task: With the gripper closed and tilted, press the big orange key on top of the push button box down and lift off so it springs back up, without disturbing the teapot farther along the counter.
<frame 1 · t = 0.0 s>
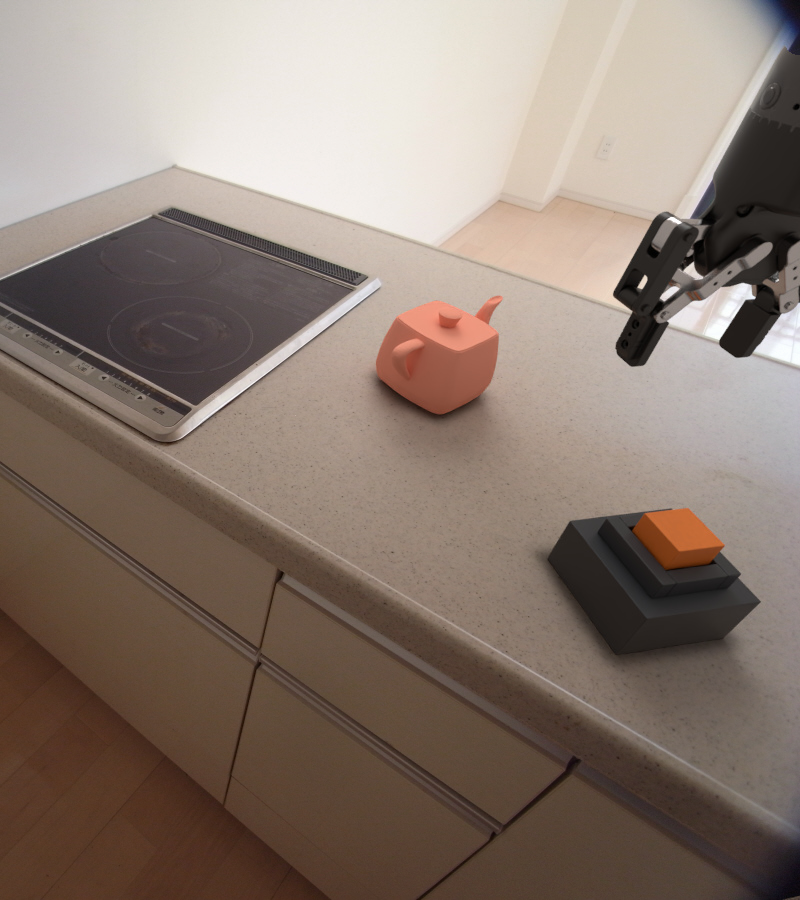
hand: (680, 356, 47), 21 cm above the countertop, tool pointing down, fingers open, 8 cm apart
teapot: (431, 386, 79), on the countertop
push button box: (630, 596, 56), on the countertop
key: (676, 538, 51), point 8 cm above the countertop, slide at 0.1 cm
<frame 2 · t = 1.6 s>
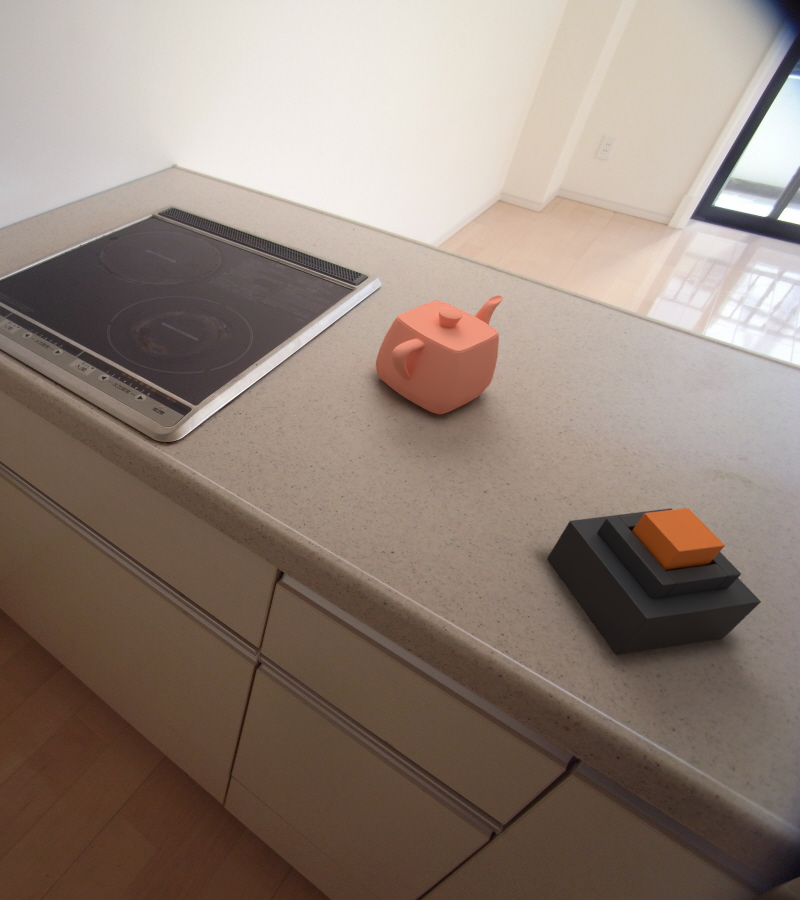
nothing on the countertop moved.
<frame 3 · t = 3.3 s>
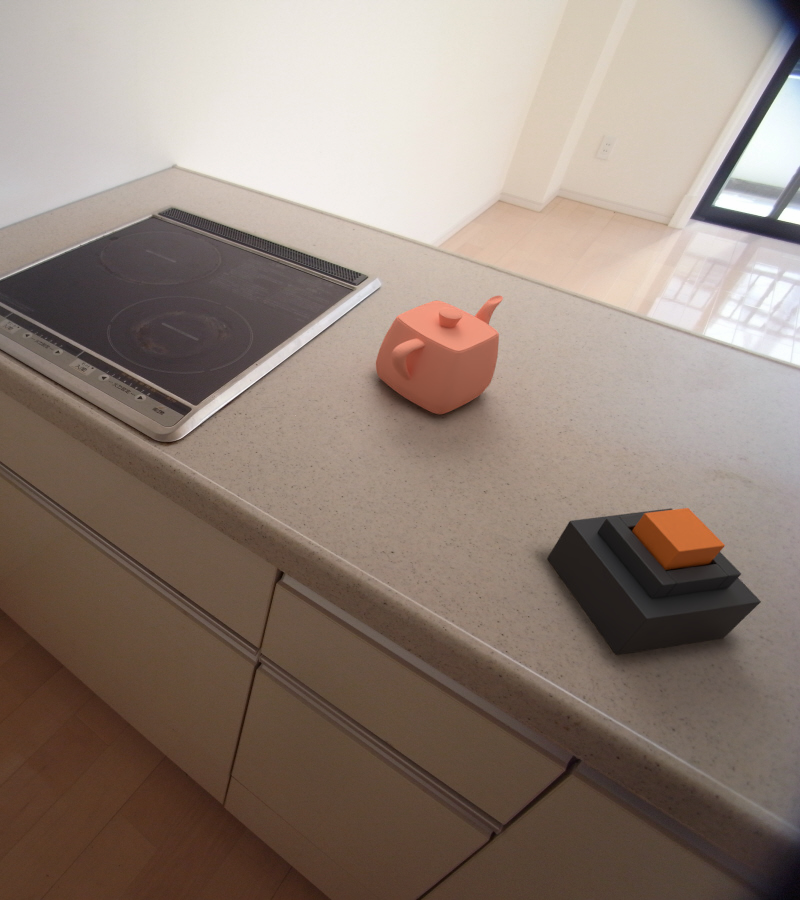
nothing on the countertop moved.
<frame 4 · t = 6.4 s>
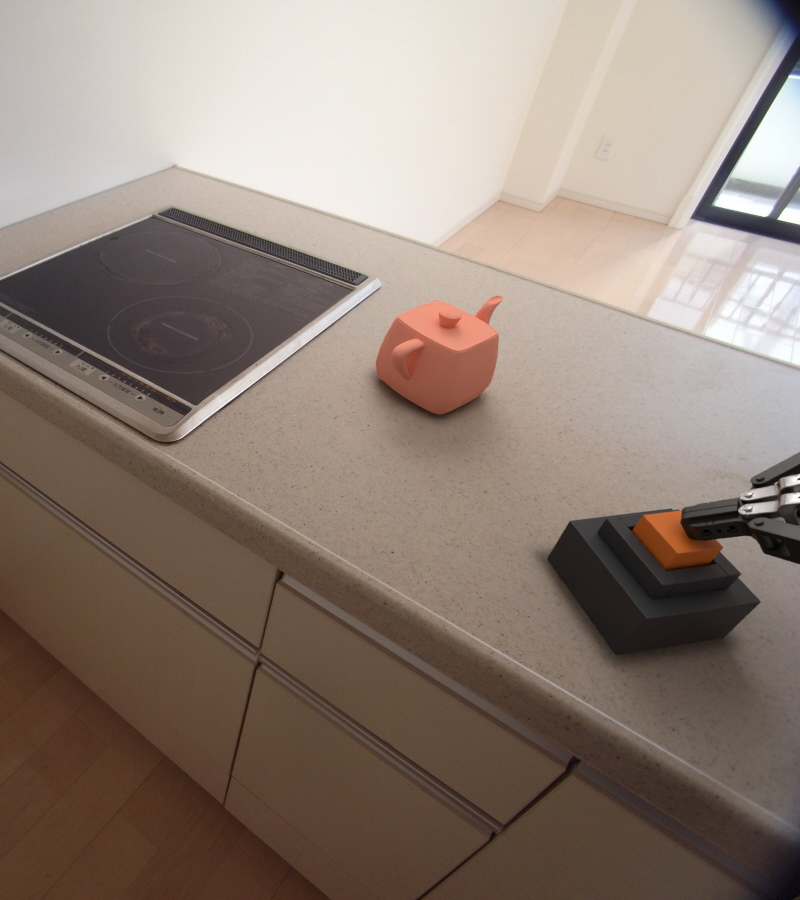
hand: (685, 524, 50), 9 cm above the countertop, tool tilted 45°, fingers closed
key: (675, 540, 51), point 8 cm above the countertop, slide at -0.1 cm, touching gripper
everything else where it was.
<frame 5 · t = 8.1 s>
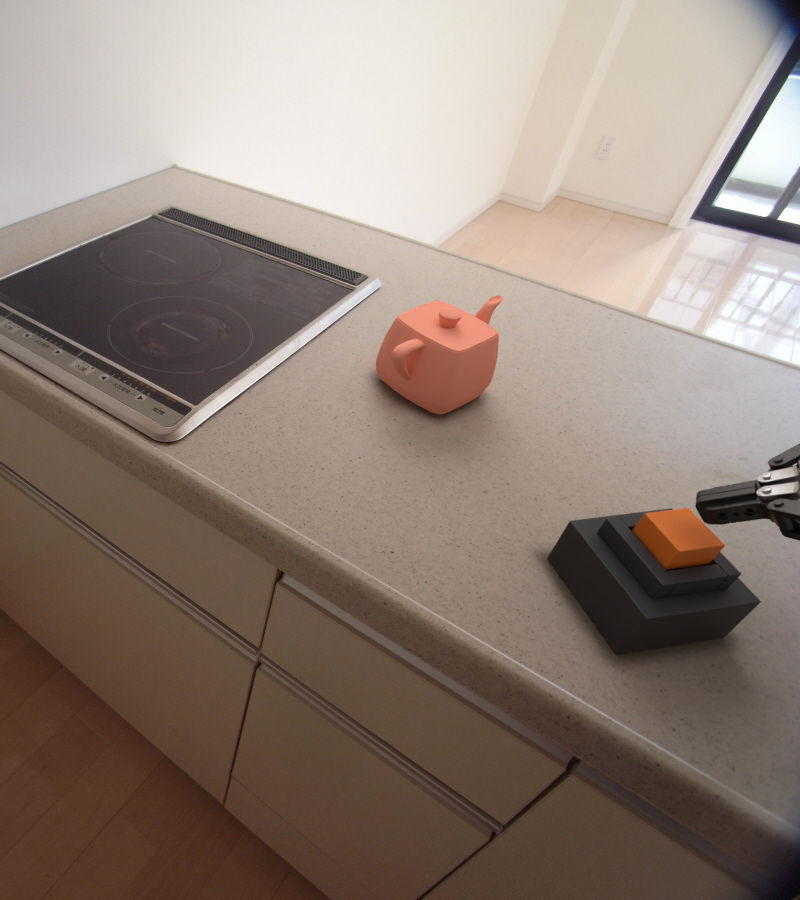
hand: (700, 508, 49), 11 cm above the countertop, tool tilted 45°, fingers closed
key: (676, 538, 51), point 8 cm above the countertop, slide at 0.1 cm
everything else where it was.
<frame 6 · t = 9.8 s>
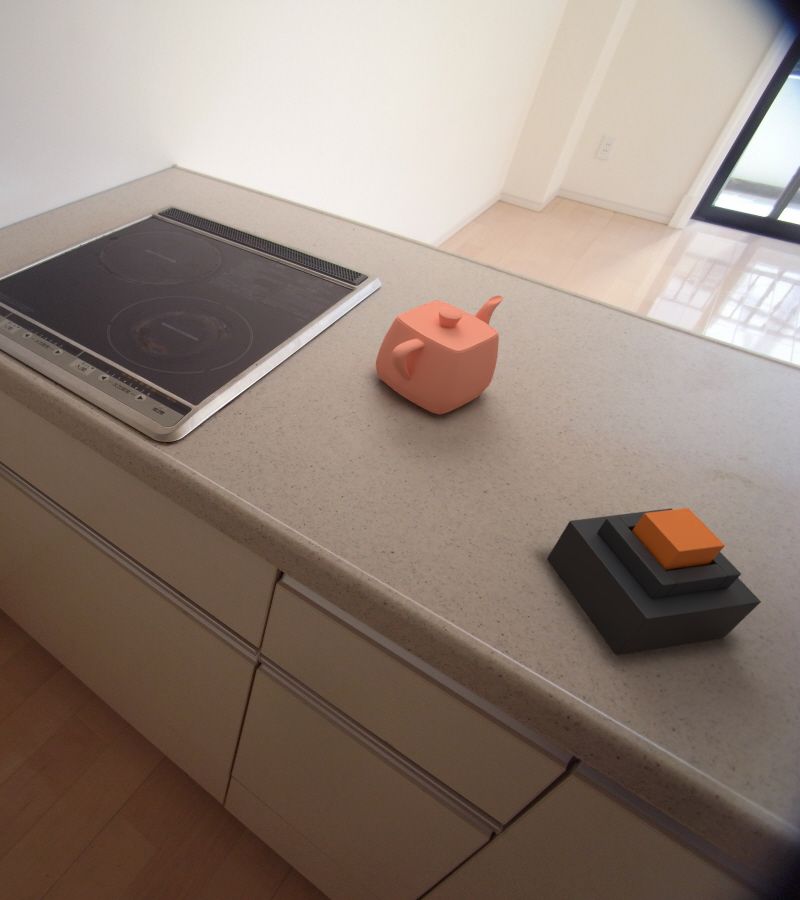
nothing on the countertop moved.
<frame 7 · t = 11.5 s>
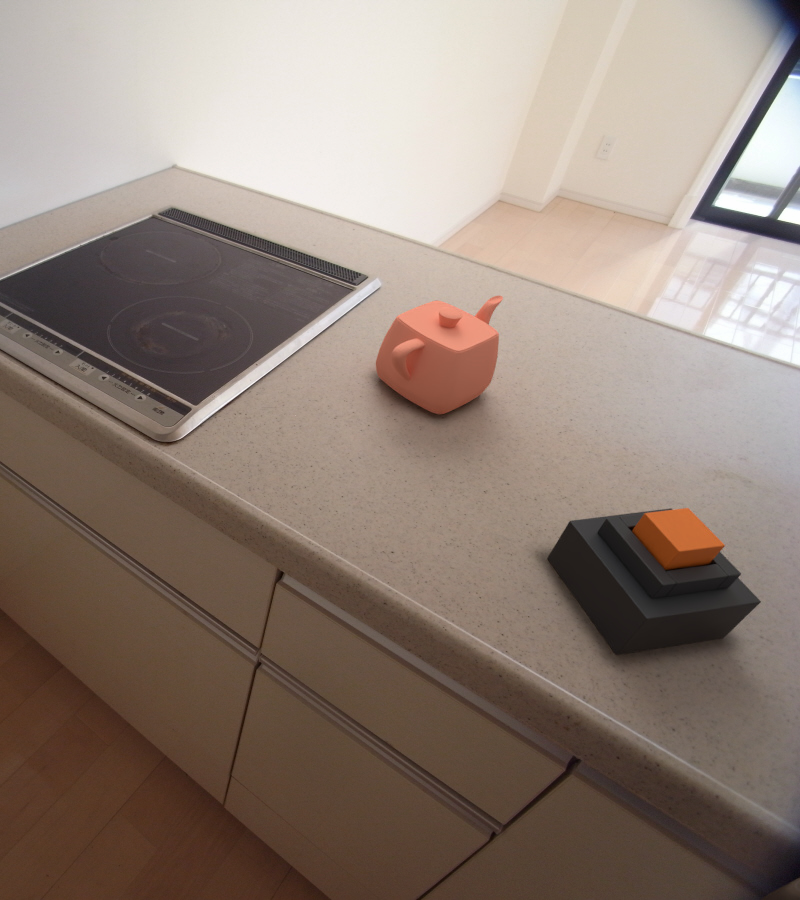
nothing on the countertop moved.
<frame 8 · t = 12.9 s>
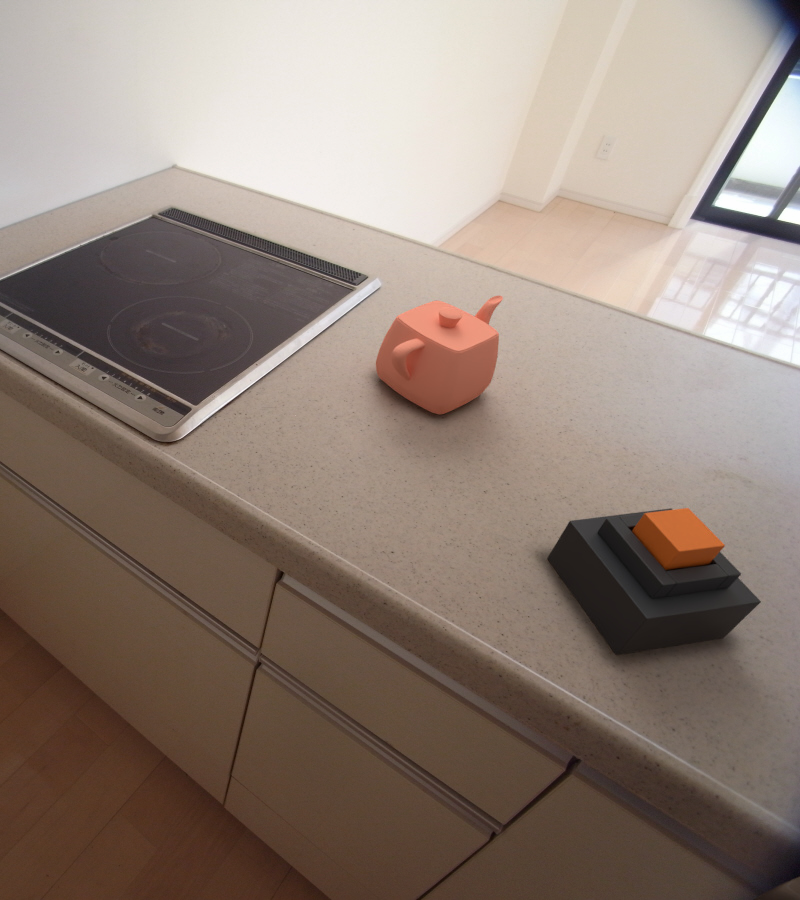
nothing on the countertop moved.
at the end: key pushed in 1.3 cm at the most during the clip, back to where it started at the end; key slide at 0.1 cm; teapot moved 0.2 cm from its start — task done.
